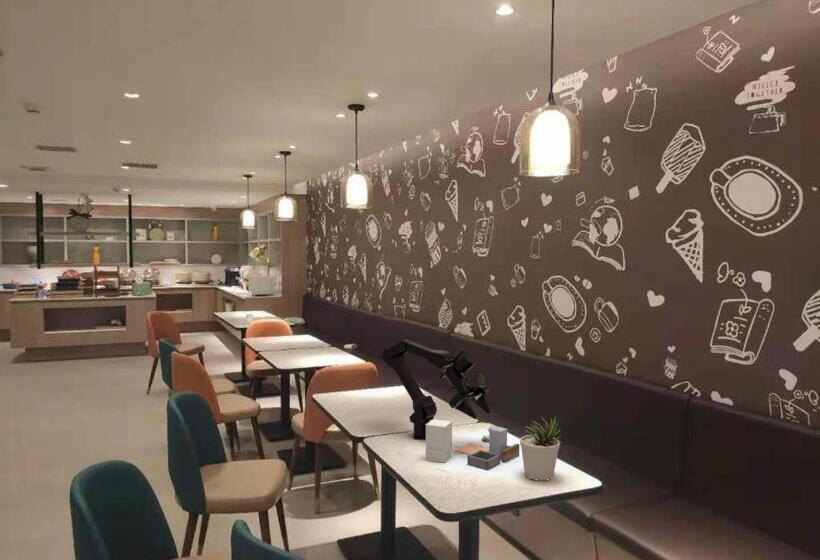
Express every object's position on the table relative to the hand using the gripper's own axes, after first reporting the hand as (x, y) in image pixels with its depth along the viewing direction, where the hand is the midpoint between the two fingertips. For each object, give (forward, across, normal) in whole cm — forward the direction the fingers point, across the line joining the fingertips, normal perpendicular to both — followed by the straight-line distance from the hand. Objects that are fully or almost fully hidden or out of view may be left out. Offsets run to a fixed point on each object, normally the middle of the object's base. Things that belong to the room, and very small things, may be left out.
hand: (482, 415), depth 210 cm
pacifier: (+6, +14, +13) cm, 20 cm away
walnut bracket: (+14, +1, +5) cm, 15 cm away
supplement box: (+4, -15, +16) cm, 22 cm away
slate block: (+14, 0, +5) cm, 15 cm away
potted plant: (+28, -7, -9) cm, 30 cm away
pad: (+7, 0, +12) cm, 14 cm away
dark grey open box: (+14, -9, +5) cm, 18 cm away
